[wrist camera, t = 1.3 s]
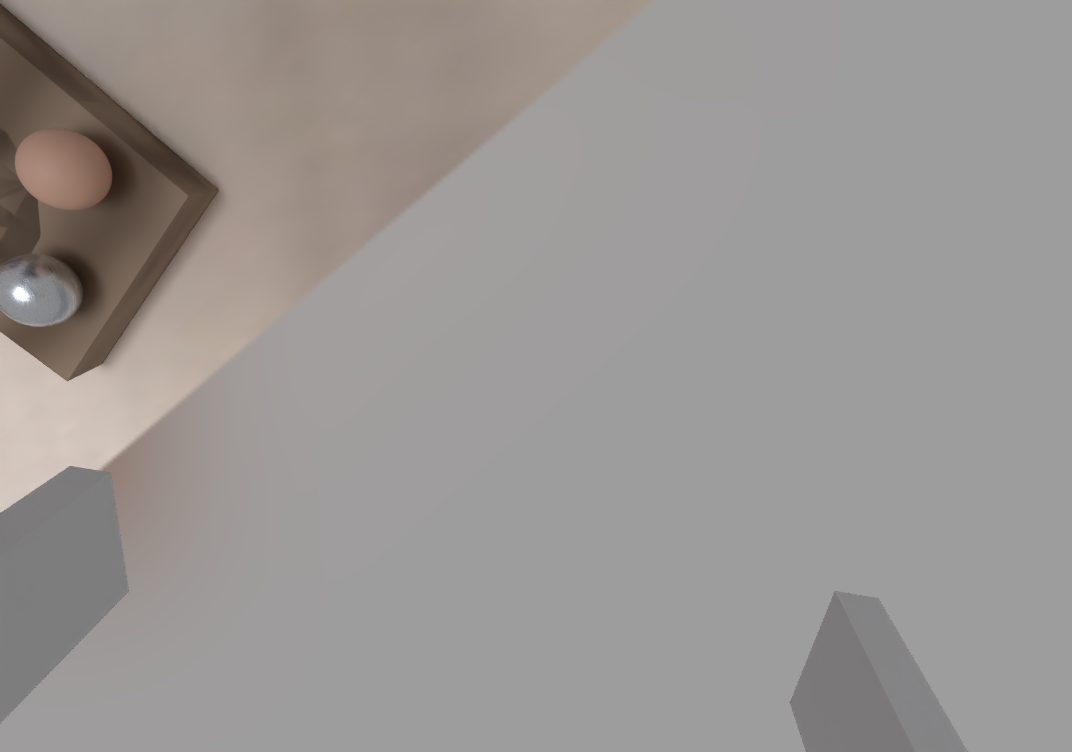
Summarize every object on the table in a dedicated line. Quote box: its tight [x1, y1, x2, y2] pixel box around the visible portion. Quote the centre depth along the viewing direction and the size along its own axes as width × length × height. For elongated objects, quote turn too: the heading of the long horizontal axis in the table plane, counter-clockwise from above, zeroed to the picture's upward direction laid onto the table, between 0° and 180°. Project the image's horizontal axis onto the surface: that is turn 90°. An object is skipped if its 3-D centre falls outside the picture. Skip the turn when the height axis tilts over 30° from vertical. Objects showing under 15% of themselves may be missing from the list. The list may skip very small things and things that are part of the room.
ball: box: [0, 254, 83, 327], centre depth 30 cm, size 3×3×3 cm
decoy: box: [15, 128, 112, 210], centre depth 28 cm, size 3×3×3 cm
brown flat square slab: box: [0, 5, 218, 381], centre depth 31 cm, size 14×13×2 cm
